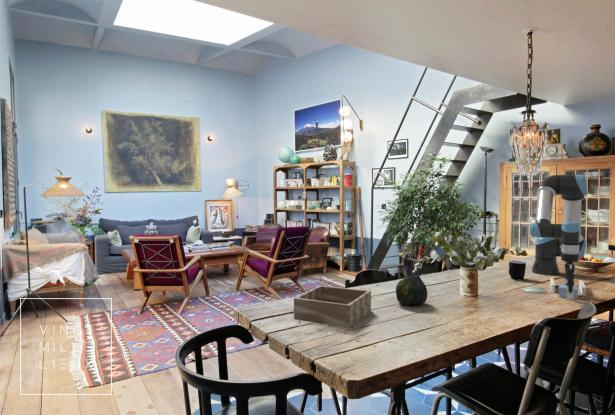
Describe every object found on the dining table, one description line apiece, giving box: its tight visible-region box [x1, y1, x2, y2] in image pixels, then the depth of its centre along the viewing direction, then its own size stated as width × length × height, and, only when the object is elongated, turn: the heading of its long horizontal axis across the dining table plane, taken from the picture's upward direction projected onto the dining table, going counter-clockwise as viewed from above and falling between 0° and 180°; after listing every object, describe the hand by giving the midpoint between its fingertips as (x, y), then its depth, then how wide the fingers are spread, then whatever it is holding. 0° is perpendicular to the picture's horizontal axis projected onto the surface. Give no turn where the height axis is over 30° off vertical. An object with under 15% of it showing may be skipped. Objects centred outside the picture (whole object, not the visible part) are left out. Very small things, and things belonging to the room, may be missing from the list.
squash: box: [395, 273, 428, 306], centre depth 203 cm, size 14×15×15 cm
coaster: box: [522, 286, 548, 294], centre depth 225 cm, size 11×11×1 cm
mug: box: [508, 260, 527, 281], centre depth 251 cm, size 12×9×10 cm
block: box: [558, 284, 579, 300], centre depth 213 cm, size 8×8×5 cm
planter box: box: [293, 285, 372, 329], centre depth 187 cm, size 25×25×9 cm
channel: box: [549, 277, 587, 297], centre depth 225 cm, size 18×15×4 cm
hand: (569, 295), depth 212 cm, fingers open, 13 cm apart
